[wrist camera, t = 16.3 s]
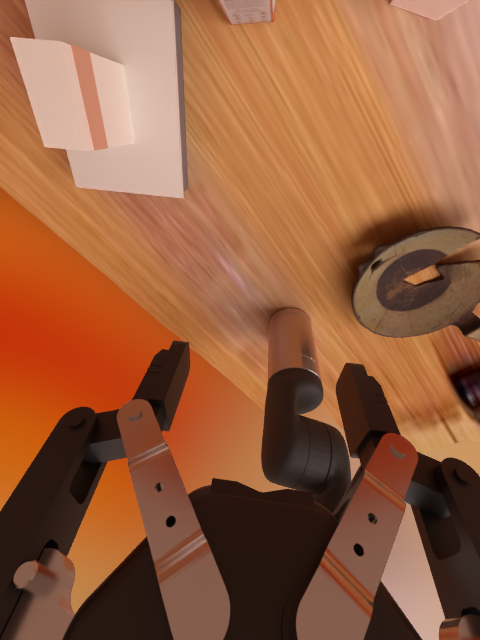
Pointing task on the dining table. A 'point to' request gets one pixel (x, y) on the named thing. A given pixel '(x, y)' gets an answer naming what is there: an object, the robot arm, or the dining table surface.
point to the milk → (429, 7)
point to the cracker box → (248, 11)
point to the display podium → (129, 88)
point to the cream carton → (74, 95)
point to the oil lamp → (419, 286)
